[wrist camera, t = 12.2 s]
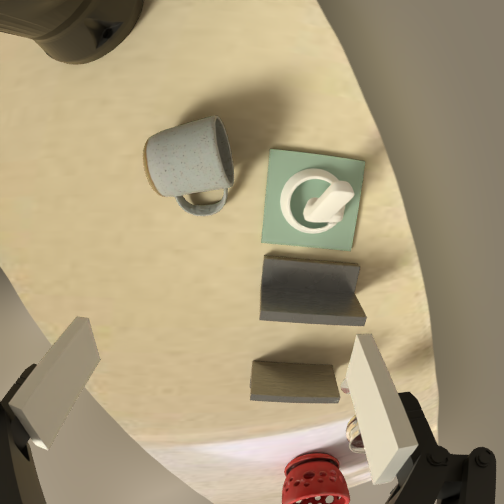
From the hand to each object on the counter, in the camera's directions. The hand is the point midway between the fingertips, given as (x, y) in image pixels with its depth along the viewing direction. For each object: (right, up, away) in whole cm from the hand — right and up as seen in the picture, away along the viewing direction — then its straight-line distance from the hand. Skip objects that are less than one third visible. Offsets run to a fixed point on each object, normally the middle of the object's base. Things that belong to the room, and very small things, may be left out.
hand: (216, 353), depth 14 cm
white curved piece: (+9, +11, +22) cm, 26 cm away
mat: (+9, +11, +22) cm, 26 cm away
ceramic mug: (-4, +15, +21) cm, 26 cm away
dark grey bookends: (+8, -6, +28) cm, 30 cm away
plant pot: (+14, -40, +41) cm, 59 cm away
